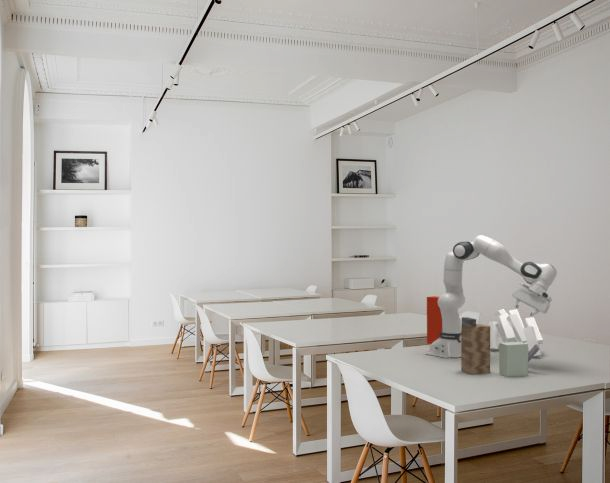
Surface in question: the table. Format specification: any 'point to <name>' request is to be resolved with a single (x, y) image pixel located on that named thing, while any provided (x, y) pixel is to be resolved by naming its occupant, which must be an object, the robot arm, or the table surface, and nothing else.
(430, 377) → the table surface
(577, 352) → the table surface
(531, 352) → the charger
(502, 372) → the block
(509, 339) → the pile of blocks
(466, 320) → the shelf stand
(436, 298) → the file binder
